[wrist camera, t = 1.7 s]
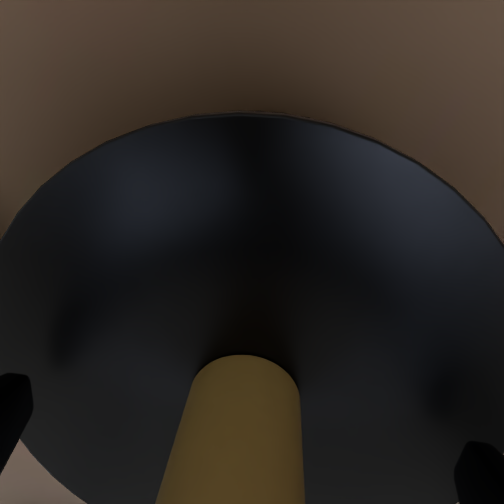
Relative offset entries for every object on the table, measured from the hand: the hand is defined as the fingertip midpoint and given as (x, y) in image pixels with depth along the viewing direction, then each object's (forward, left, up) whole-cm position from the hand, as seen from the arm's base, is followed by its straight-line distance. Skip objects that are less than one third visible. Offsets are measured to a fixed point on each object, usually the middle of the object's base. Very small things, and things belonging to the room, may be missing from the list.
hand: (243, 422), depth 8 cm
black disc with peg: (0, 0, -1) cm, 1 cm away
